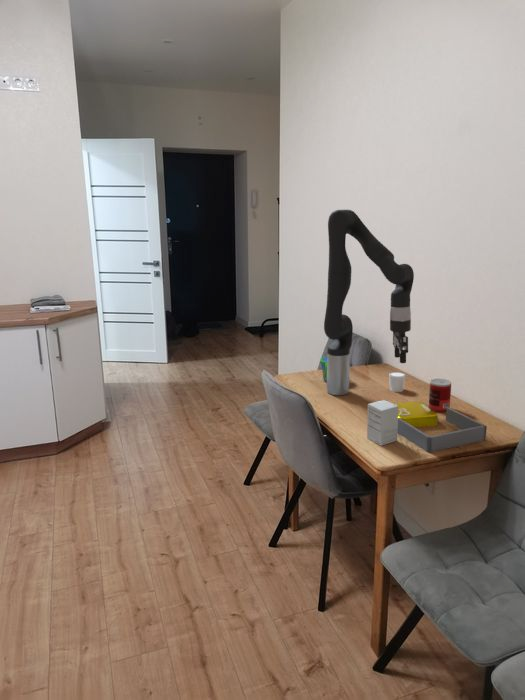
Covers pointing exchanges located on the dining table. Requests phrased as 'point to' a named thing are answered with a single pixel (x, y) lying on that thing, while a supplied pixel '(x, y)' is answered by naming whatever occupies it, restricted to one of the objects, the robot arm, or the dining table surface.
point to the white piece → (396, 381)
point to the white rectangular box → (382, 422)
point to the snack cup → (324, 367)
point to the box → (467, 435)
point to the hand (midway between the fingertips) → (400, 360)
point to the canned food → (439, 395)
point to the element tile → (417, 414)
